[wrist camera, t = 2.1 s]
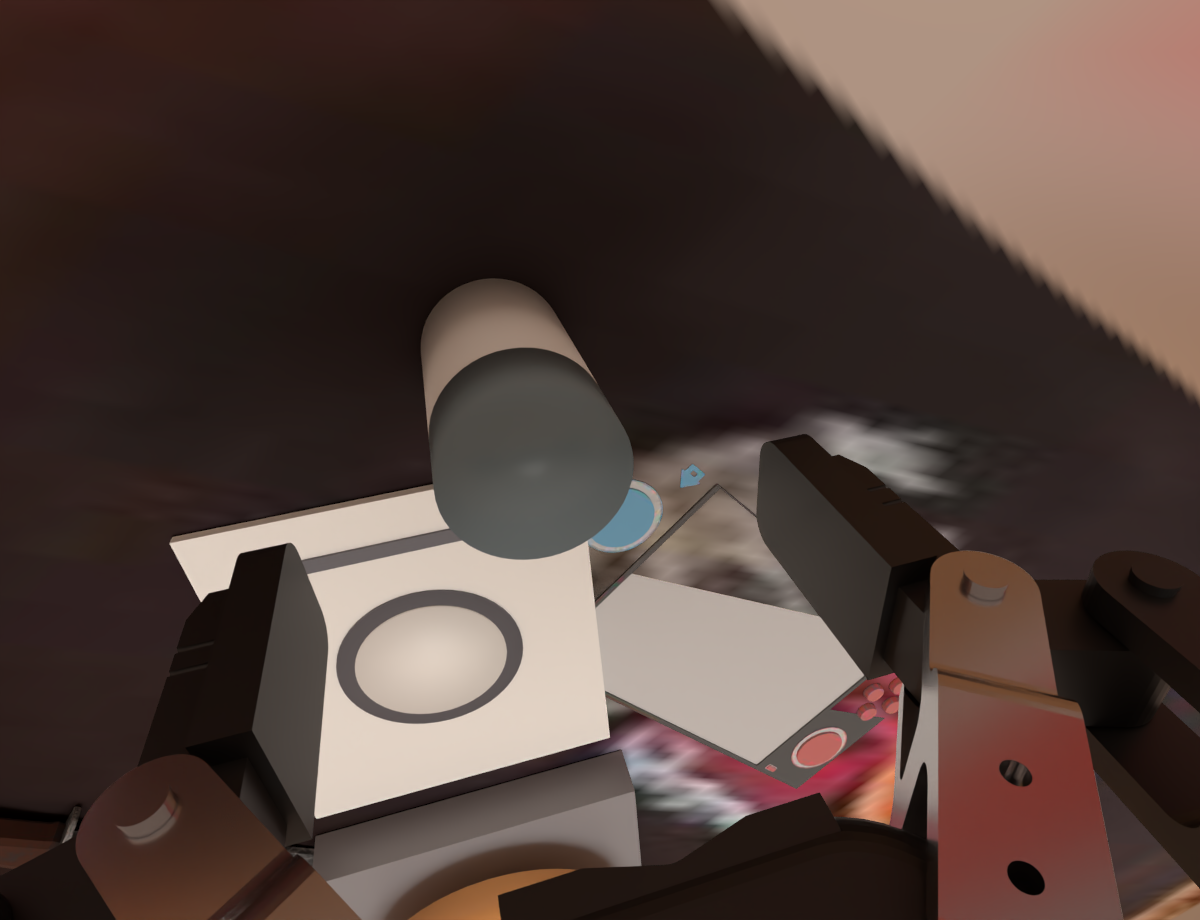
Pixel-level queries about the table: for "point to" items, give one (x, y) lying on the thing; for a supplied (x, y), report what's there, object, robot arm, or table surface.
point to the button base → (484, 838)
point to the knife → (57, 839)
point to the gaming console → (725, 659)
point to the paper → (428, 644)
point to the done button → (483, 897)
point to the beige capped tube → (517, 425)
